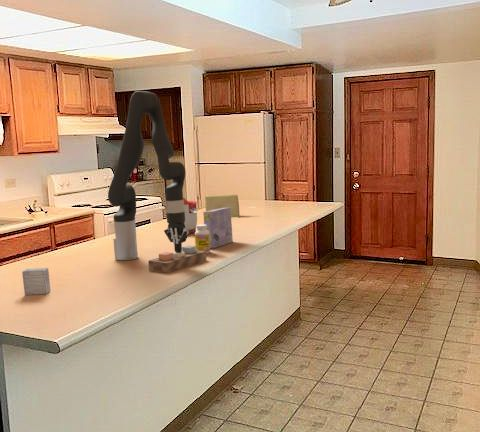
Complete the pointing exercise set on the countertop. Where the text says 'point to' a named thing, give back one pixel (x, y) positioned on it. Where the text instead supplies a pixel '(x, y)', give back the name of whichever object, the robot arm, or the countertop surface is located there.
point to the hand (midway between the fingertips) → (178, 252)
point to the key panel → (177, 262)
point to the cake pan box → (219, 226)
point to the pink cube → (165, 256)
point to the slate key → (189, 249)
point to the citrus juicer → (190, 215)
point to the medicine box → (36, 281)
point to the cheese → (223, 203)
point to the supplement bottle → (202, 238)
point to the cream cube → (178, 254)
